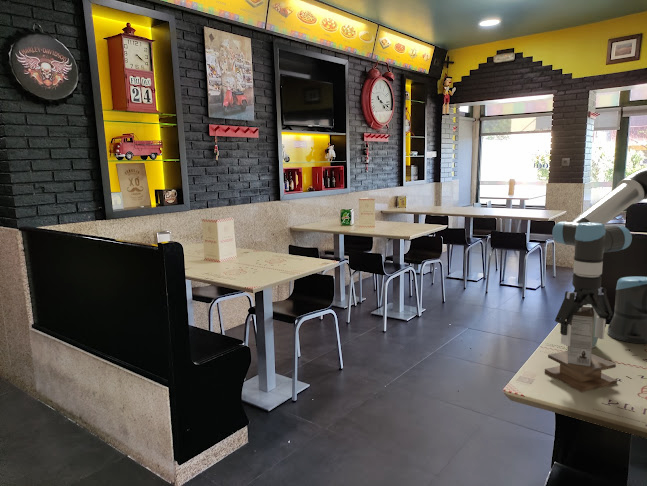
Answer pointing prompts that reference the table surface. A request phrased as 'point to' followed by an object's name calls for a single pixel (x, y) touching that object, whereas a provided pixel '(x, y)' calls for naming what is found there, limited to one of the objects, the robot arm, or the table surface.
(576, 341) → the coffee box
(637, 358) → the table surface
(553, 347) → the table surface
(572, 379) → the pedestal
